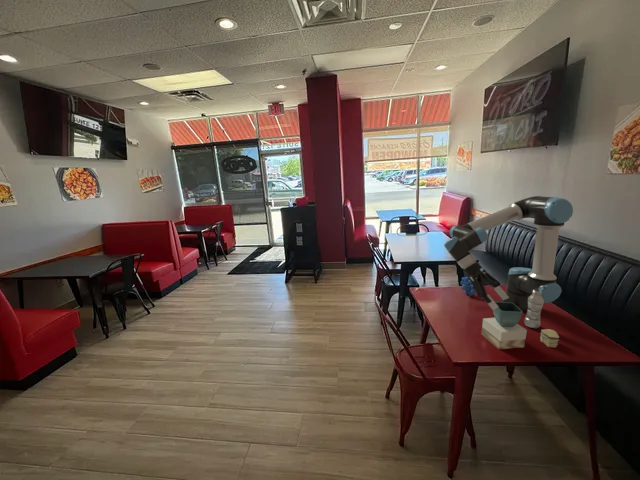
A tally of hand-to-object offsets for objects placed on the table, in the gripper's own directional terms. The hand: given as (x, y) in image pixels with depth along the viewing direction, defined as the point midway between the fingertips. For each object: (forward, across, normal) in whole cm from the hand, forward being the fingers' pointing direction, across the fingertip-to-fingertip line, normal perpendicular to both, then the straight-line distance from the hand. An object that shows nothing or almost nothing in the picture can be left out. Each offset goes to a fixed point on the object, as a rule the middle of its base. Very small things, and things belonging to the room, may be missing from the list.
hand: (501, 303), depth 123 cm
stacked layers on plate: (+25, -14, -2) cm, 29 cm away
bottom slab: (+15, -1, -12) cm, 19 cm away
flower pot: (+9, 0, -6) cm, 10 cm away
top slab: (+12, 0, -9) cm, 14 cm away
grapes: (-8, -39, -35) cm, 53 cm away
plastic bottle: (+19, -24, -8) cm, 32 cm away
